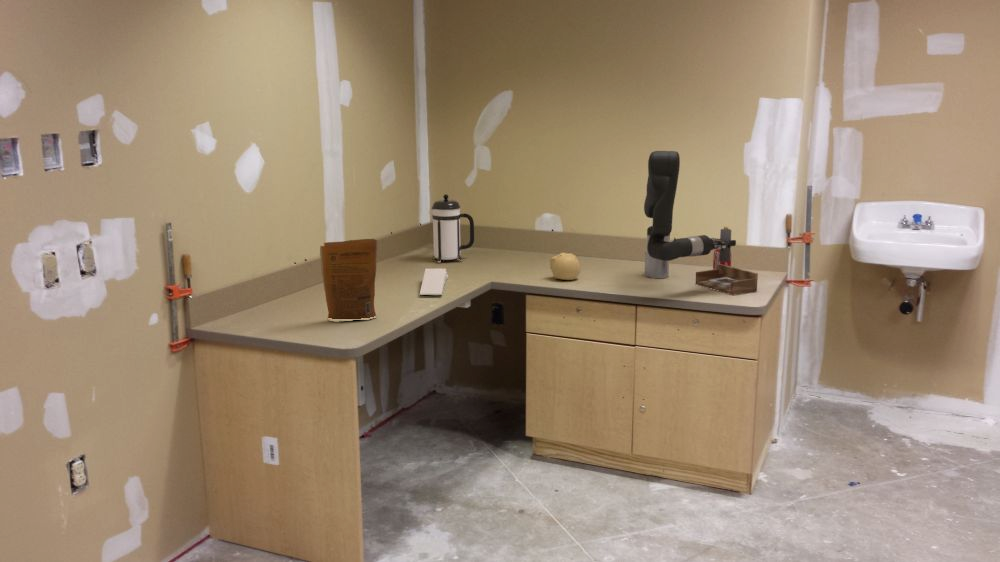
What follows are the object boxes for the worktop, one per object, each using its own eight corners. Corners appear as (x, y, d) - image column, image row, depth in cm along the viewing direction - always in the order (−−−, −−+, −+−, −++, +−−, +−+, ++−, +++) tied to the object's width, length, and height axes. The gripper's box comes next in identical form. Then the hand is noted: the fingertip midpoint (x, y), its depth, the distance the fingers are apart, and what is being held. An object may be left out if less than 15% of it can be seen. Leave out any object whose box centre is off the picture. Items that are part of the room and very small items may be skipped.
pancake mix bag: (381, 321, 301) (378, 239, 294) (323, 324, 297) (319, 242, 291) (380, 316, 307) (376, 236, 301) (323, 319, 304) (319, 238, 297)
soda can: (730, 278, 360) (732, 249, 357) (712, 278, 361) (714, 249, 358) (730, 275, 366) (731, 246, 364) (712, 274, 368) (713, 245, 365)
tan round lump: (570, 274, 370) (570, 249, 367) (585, 280, 359) (585, 254, 357) (546, 277, 365) (546, 251, 362) (560, 283, 354) (560, 256, 352)
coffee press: (452, 265, 390) (451, 197, 383) (424, 261, 398) (422, 195, 392) (475, 258, 404) (474, 193, 397) (447, 255, 413) (445, 191, 406)
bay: (695, 284, 350) (696, 266, 349) (718, 280, 356) (719, 263, 354) (733, 295, 332) (733, 276, 331) (756, 291, 338) (757, 273, 336)
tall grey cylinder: (716, 260, 342) (718, 225, 339) (724, 259, 344) (726, 224, 341) (724, 262, 338) (725, 226, 335) (732, 260, 340) (733, 226, 337)
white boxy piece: (441, 312, 335) (446, 285, 361) (446, 294, 333) (450, 269, 359) (415, 306, 334) (422, 280, 360) (419, 288, 332) (425, 263, 358)
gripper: (709, 239, 326) (744, 235, 334) (684, 233, 338) (718, 229, 346) (708, 259, 328) (743, 254, 336) (683, 252, 340) (717, 248, 348)
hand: (730, 241), depth 341 cm, fingers closed on tall grey cylinder, 4 cm apart
